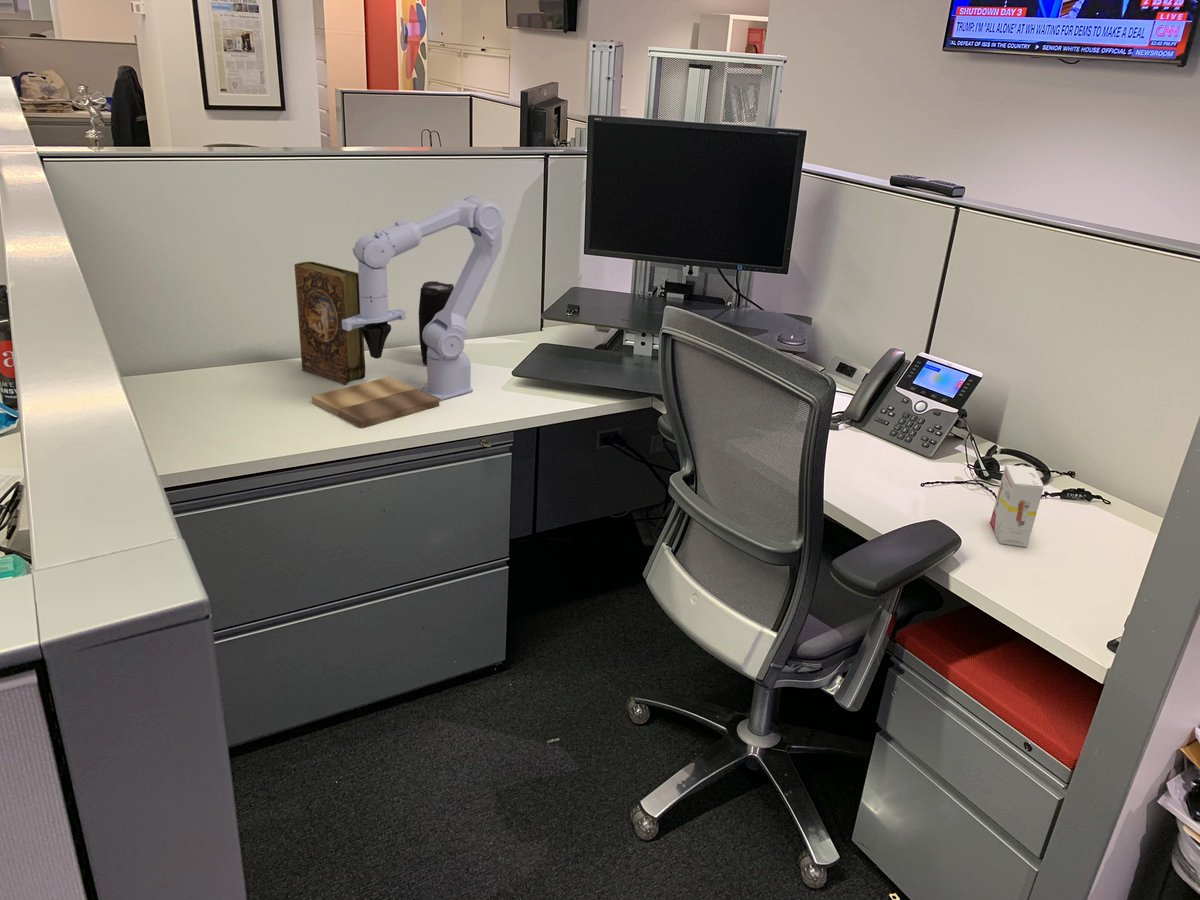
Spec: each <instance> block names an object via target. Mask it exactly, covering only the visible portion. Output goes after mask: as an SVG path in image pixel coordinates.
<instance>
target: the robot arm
mask: <svg viewBox="0 0 1200 900" xmlns="http://www.w3.org/2000/svg"><path fill="white" fill-rule="evenodd" d="M505 223H506V220H505V218H504V215H503V212H502V209H501V207H500V206H499V205H498V204H496V203H495V202H492V201H487V200H485V199H482V198H480V197H478V196H476V195H468V196H465V197H463V199H462V198H460V199H456V200H454V202H452V203H451V204H449V205H447V206H445V207H443V208H441V209H439V210H437V211H435V212H433V213H431V214H429V215H427V216H425V217H424V218H421V219H419V220H418V221H415V222H412V221H410V220H407V219H406V220H402V219H397V220H396V221H394V225H391V226H390V227H387V228H385V229H383V230H380V229H377V230H375V231H374V235H372V234H365V235H361V236H360V237H359V238H358V239H357V241H355V243H354V246H353V248H352V253H353V255H354V257H355V259H356V260H358V261H357V265H358V266H357V268H358V270H357V271H358V272H357V273H358V276H359V298H360V314H358V315H356V316H353V317H350V318H348V319H344V320H342V329H344V330H347V331H350V330H352V329H355V328H359V330H360V331H361V333H362V335H363V336H364V341H365V343H366V345H367V348H368V352H369V354H370V357H371V358H373V359H380V358H381V359H382V355H383V351H384V347H385V343H386V341H387V338H388V336H389V334H390V333H391V331H392V325H391V324H389V322H393V321H394V322H395V321H399V320H400V321H405V320H406V310H404V309H401V308H398V309H389V298H388V297H389V296H388V274H387V272H388V271H387V265H388V264H389V263H390V260H391V259H393V258H395V257H398V256H400V255H402V254H403V253H406V252H408V251H410V250H413V249H415V248H417V247H419V245H420V243H421V241H422V239H423V238H425V237H427V236H431V235H433V234H435V233H438V232H440V231H443V230H446V229H448V228H451V227H454V226H460V227H463V228H464V227H465V228H467V230H468V231H469V233H470V236H471V239H472V241H473V244H474V246H473V248H472V250H471V252H470V255H469V256H468V258H467V260H466V263H465V264H464V266H463V268H462V271H461V272H460V275H459V277H458V279H457V281H456V282H455V284H454V289H453V291H452V293H451V295H450V297H449V299H448V301H447V303H446V305H445V307H444V309H443V310H441V311H439V312H438V313H436V314H435V316H434V318H433V319H432V321H431V322H430V323H428V324H427V325H426V326H425V328H424V330H423V333H422V338H423V341H424V343H425V344H426V345H427V346H428V350H427V362H426V370H427V372H426V373H427V375H426V376H427V379H426V380H427V382H426V383H427V386H424V387H420V388H419V389H418V390H420V391H422V392H425V393H427V394H429V395H431V396H434V397H436V398H438V399H439V401H441V400H442V401H444V400H447V399H450V398H451V399H452V398H454V397H457V396H460V395H463V394H469V393H471V392H473V391H474V389H473V388H471V384H472V383H471V381H472V379H471V374H472V373H471V372H472V371H471V360H470V358H469V356H468V354H467V353H466V352H465V351H464V348H465V339H466V336H467V334H468V325H467V319H468V316H469V314H470V313H471V311H472V309H473V307H474V305H475V302H476V301H477V298H478V297H479V294H480V292H481V290H482V288H483V286H484V285H485V282H486V280H487V277H488V276H489V274H490V272H491V270H492V268H493V266H494V263H495V261H496V260H497V258H498V255H499V254H500V252H501V249H502V239H503V227H504V225H505Z"/></svg>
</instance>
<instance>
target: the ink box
mask: <svg viewBox="0 0 1200 900" xmlns="http://www.w3.org/2000/svg"><path fill="white" fill-rule="evenodd" d="M1043 492H1044V483H1043V481H1042V479H1041V477H1040V475H1039V474H1038V471H1037V470H1036V468H1035V467H1031V466H1022V465H1021V466H1020V465H1011V464H1005V465H1004V469H1003V473H1002V476H1001V480H1000V485H999V489H998V492H997V495H996V498H995V503H994V506H993V511H992V514H991V518H990V520H989V522H990V525H991V527H992V530H993V532H994V534H995V537H996V539H997V542H998V543H999V544H1001V545H1002V544H1003V545H1008V546H1009V545H1010V546H1017V547H1024V548H1028V546H1029V541H1030V539H1031V536H1032V535H1031V534H1032V532H1033V528H1034V524H1035V522H1036V521H1035V520H1036V515H1037V513H1038V509H1039V505H1040V502H1041V498H1042V496H1043V495H1042V494H1043Z"/></svg>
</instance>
